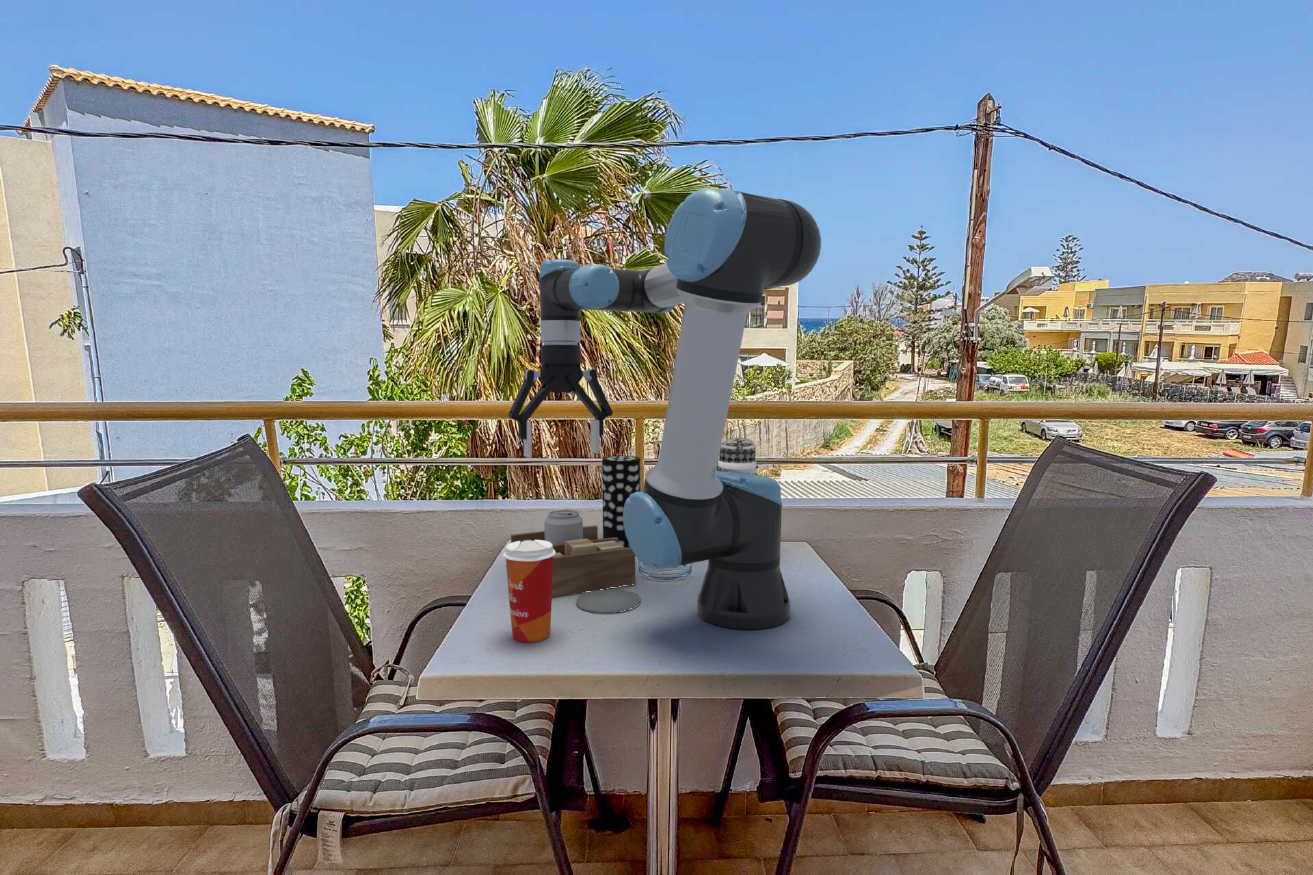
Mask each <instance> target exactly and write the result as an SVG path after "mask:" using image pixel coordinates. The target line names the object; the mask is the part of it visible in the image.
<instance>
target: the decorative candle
mask: <svg viewBox="0 0 1313 875" xmlns="http://www.w3.org/2000/svg"><path fill="white" fill-rule="evenodd" d="M757 448H758V446H757V445H755V443H754V441H753V440H752V439H750V438H746V437H745V438H744V437H730V438H725V439H724V440H722V443H721V448H720V453H719V458H718V463H717V469H716V471H722V472H736V473H745V474H753V475H759V474H758V473H756V470H757V469H759V465H757V459H756V456H757V454H756V449H757Z"/></svg>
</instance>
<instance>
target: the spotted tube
mask: <svg viewBox="0 0 1313 875" xmlns="http://www.w3.org/2000/svg"><path fill="white" fill-rule="evenodd" d="M601 469H602V472H601V473H602V474H601V475H602V479H601V480H602V482H601V483H602V539H605V538H613V537H617V538H618V543H619V544H620V545H622V546H624V547H625V548H628V547H630V545H629V542H628V539H627V537H626V533H625V529H624V523H623V510H624V505H625V502H626V500H627V498H629V497H630V496H631V495H632V494H634V493H635V492H641V457H638V456H633V455H613V456H612V455H610V456H604V457H602V458H601Z"/></svg>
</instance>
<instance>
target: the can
mask: <svg viewBox="0 0 1313 875" xmlns="http://www.w3.org/2000/svg"><path fill="white" fill-rule="evenodd" d="M543 522H544V526H543V527H544V531H545V541H548V542H550V543H552V545H555V544H563V543H565V541H571V540H579V539H583V527H584V525H583V524H584V520H583V518H582V516H580V511H578V510H576V509H568V508H567V509H565V508H564V509H563V508H561V509H553V510H549V511H548V512H547V517H546V518H545V519H544V521H543Z"/></svg>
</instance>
